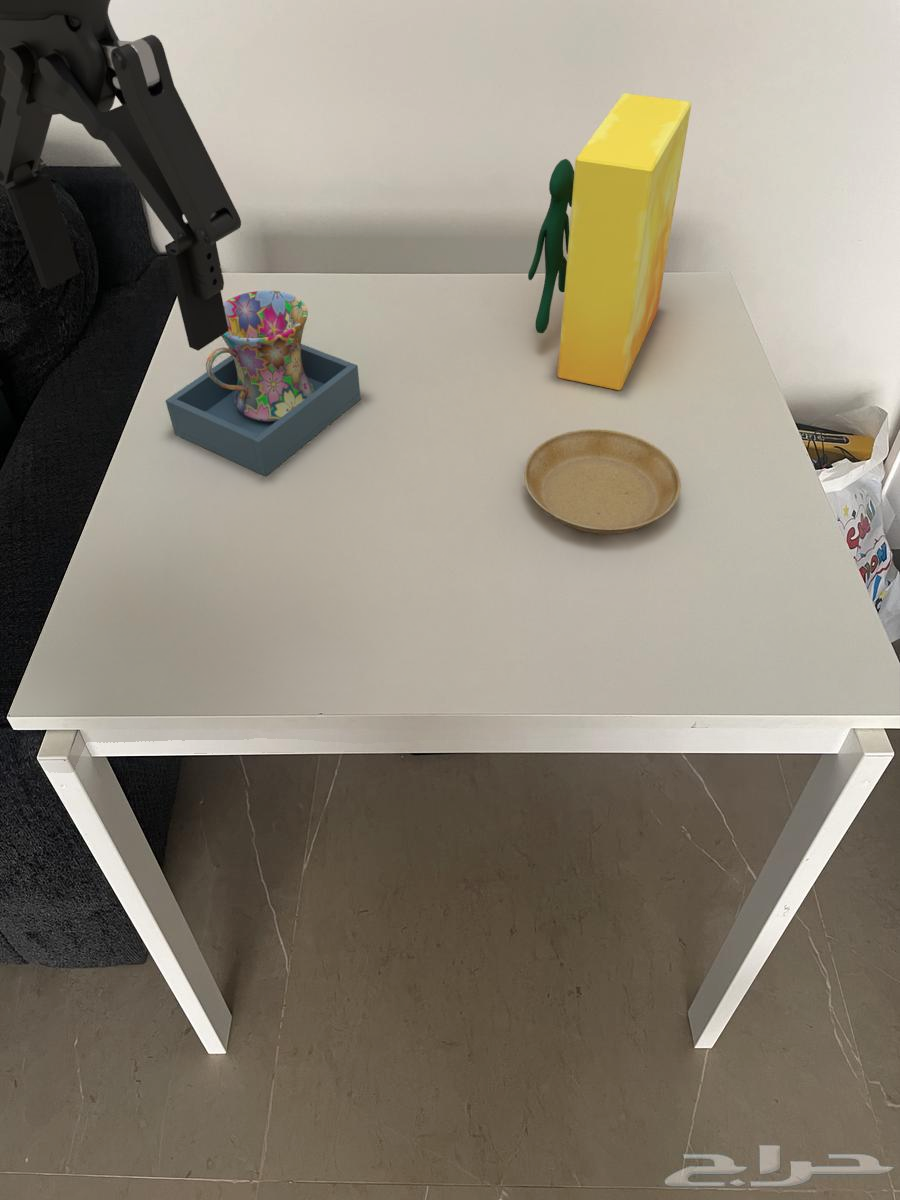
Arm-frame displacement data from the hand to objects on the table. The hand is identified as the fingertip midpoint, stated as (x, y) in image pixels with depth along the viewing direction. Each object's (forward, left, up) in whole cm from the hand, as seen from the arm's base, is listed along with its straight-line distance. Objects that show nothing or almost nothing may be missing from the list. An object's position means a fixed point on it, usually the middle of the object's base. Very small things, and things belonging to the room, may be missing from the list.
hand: (132, 308), depth 61 cm
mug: (-15, +24, -28) cm, 40 cm away
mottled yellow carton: (+7, +55, -29) cm, 63 cm away
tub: (-14, +24, -29) cm, 40 cm away
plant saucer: (+21, +31, -29) cm, 47 cm away
